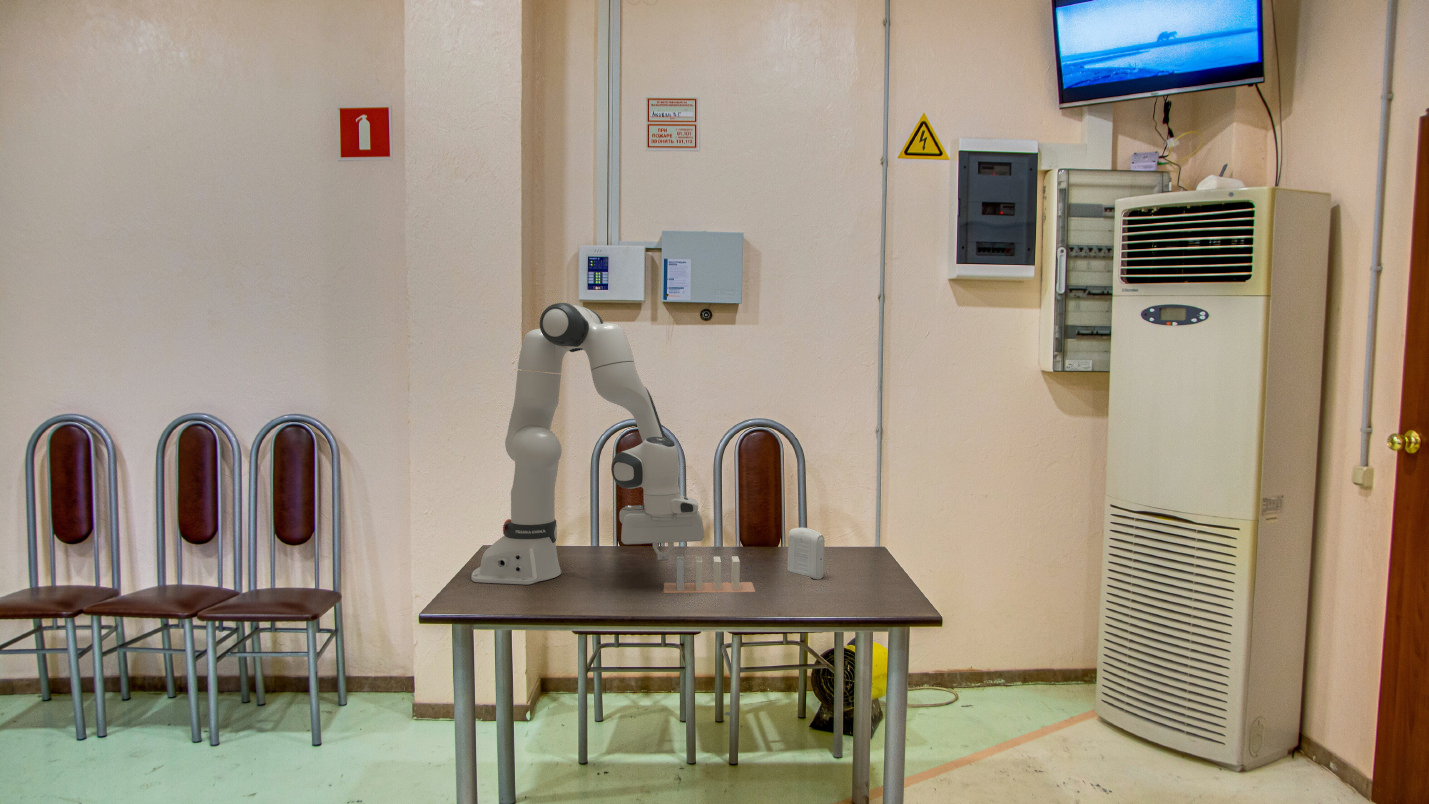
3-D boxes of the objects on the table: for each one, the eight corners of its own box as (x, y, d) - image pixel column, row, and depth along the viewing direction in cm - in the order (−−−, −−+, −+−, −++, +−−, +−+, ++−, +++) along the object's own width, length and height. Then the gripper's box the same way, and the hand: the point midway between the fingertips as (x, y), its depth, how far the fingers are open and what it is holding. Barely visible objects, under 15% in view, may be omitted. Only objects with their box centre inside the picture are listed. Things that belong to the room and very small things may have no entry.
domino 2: (695, 590, 189) (695, 562, 189) (695, 584, 194) (695, 556, 194) (702, 590, 189) (702, 562, 189) (701, 584, 194) (701, 556, 194)
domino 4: (732, 590, 190) (733, 561, 189) (731, 584, 195) (731, 556, 194) (739, 590, 190) (739, 561, 189) (737, 584, 195) (737, 556, 194)
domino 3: (714, 590, 189) (714, 561, 189) (713, 584, 194) (713, 556, 194) (721, 590, 190) (721, 561, 189) (719, 584, 194) (719, 556, 194)
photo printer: (826, 577, 203) (827, 530, 203) (816, 580, 200) (817, 532, 200) (794, 569, 210) (795, 524, 210) (784, 572, 207) (785, 526, 207)
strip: (663, 595, 187) (663, 592, 187) (663, 585, 195) (664, 583, 195) (755, 594, 189) (755, 591, 189) (751, 584, 197) (751, 582, 196)
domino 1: (676, 590, 189) (677, 561, 189) (676, 584, 194) (676, 556, 194) (683, 590, 189) (683, 561, 189) (683, 584, 194) (683, 556, 194)
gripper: (618, 508, 186) (620, 565, 187) (704, 505, 188) (705, 561, 189) (619, 503, 193) (621, 558, 194) (702, 500, 194) (703, 554, 195)
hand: (663, 560), depth 191 cm, fingers closed
